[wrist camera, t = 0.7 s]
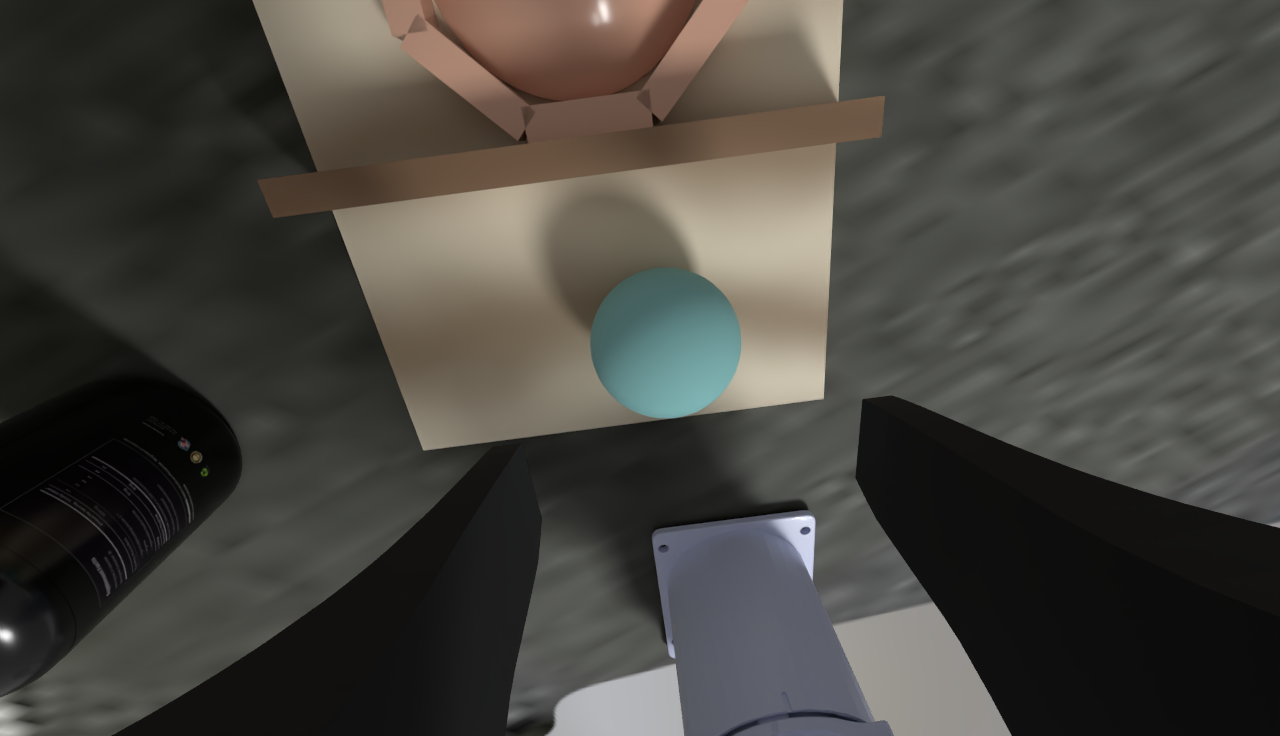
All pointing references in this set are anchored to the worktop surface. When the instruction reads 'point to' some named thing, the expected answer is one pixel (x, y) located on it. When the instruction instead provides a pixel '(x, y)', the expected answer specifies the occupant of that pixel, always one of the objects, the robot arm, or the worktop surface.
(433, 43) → the saucer
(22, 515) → the supplement bottle
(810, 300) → the board
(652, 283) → the ball
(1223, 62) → the worktop surface
